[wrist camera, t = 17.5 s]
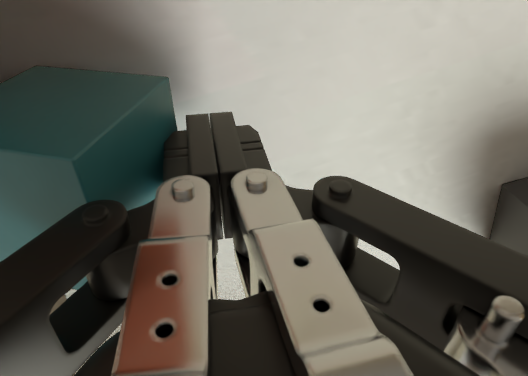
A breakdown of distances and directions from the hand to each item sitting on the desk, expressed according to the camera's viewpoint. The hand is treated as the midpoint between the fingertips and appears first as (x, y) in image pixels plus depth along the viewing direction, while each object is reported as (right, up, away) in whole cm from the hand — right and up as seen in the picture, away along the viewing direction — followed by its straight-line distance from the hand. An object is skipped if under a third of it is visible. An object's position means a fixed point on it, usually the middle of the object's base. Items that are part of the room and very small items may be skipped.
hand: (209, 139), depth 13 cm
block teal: (-3, 0, 0) cm, 3 cm away
